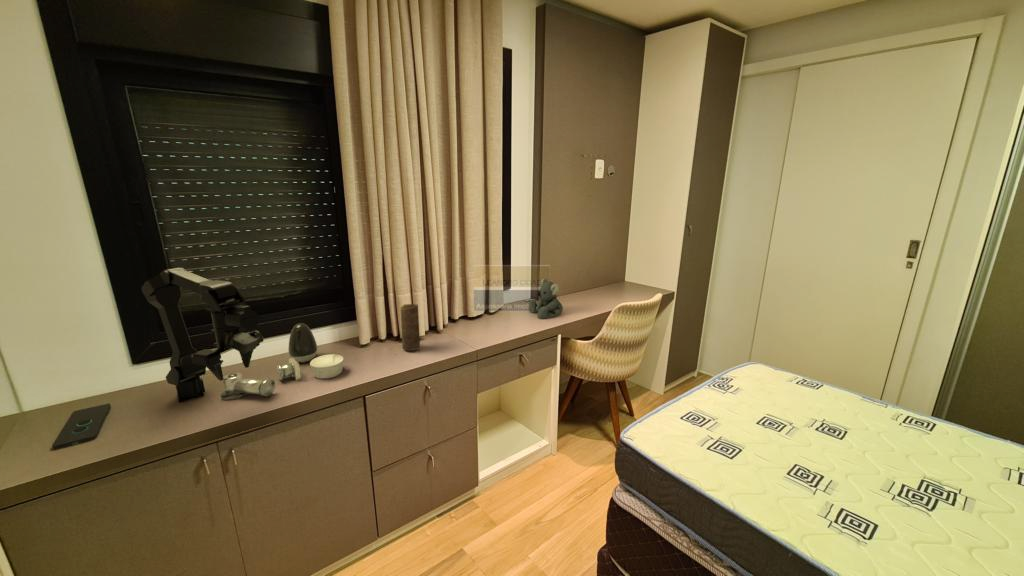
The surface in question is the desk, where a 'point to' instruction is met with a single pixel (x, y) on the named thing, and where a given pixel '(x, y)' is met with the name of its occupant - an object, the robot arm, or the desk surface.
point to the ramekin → (327, 366)
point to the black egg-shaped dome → (302, 343)
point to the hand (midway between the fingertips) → (234, 373)
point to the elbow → (247, 385)
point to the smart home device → (82, 426)
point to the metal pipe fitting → (282, 371)
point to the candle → (410, 327)
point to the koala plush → (546, 301)
